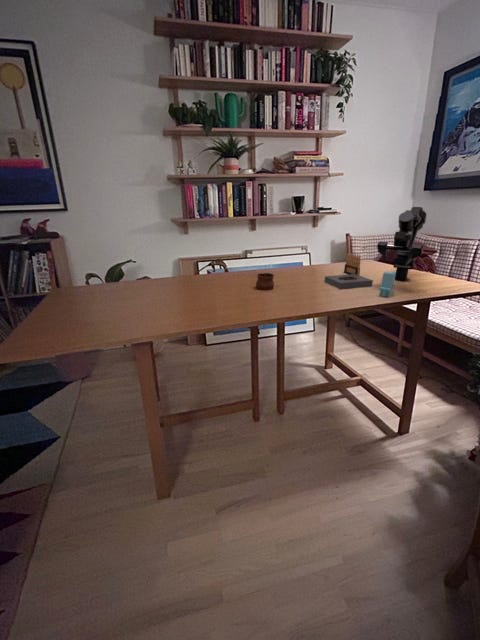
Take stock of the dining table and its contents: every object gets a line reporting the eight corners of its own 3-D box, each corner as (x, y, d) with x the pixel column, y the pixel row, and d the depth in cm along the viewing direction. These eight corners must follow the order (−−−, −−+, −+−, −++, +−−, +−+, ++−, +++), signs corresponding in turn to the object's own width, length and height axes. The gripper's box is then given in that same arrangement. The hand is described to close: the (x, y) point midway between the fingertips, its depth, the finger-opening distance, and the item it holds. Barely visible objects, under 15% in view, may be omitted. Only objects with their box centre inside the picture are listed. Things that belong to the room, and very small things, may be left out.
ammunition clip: (359, 276, 174) (362, 254, 169) (356, 277, 173) (359, 255, 169) (346, 272, 183) (349, 251, 179) (343, 272, 182) (346, 251, 178)
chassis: (354, 279, 168) (355, 273, 167) (371, 286, 156) (372, 280, 154) (324, 281, 163) (324, 276, 162) (340, 289, 151) (340, 283, 149)
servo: (384, 290, 148) (388, 268, 144) (393, 292, 146) (397, 269, 142) (378, 296, 140) (382, 272, 136) (387, 298, 138) (392, 274, 134)
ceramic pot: (260, 281, 164) (261, 268, 161) (290, 288, 153) (291, 273, 151) (238, 289, 151) (238, 275, 148) (269, 297, 141) (269, 282, 138)
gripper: (381, 223, 147) (371, 250, 142) (427, 225, 136) (418, 255, 132) (383, 239, 155) (373, 265, 151) (426, 242, 145) (417, 270, 141)
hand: (394, 263), depth 144 cm, fingers open, 9 cm apart
